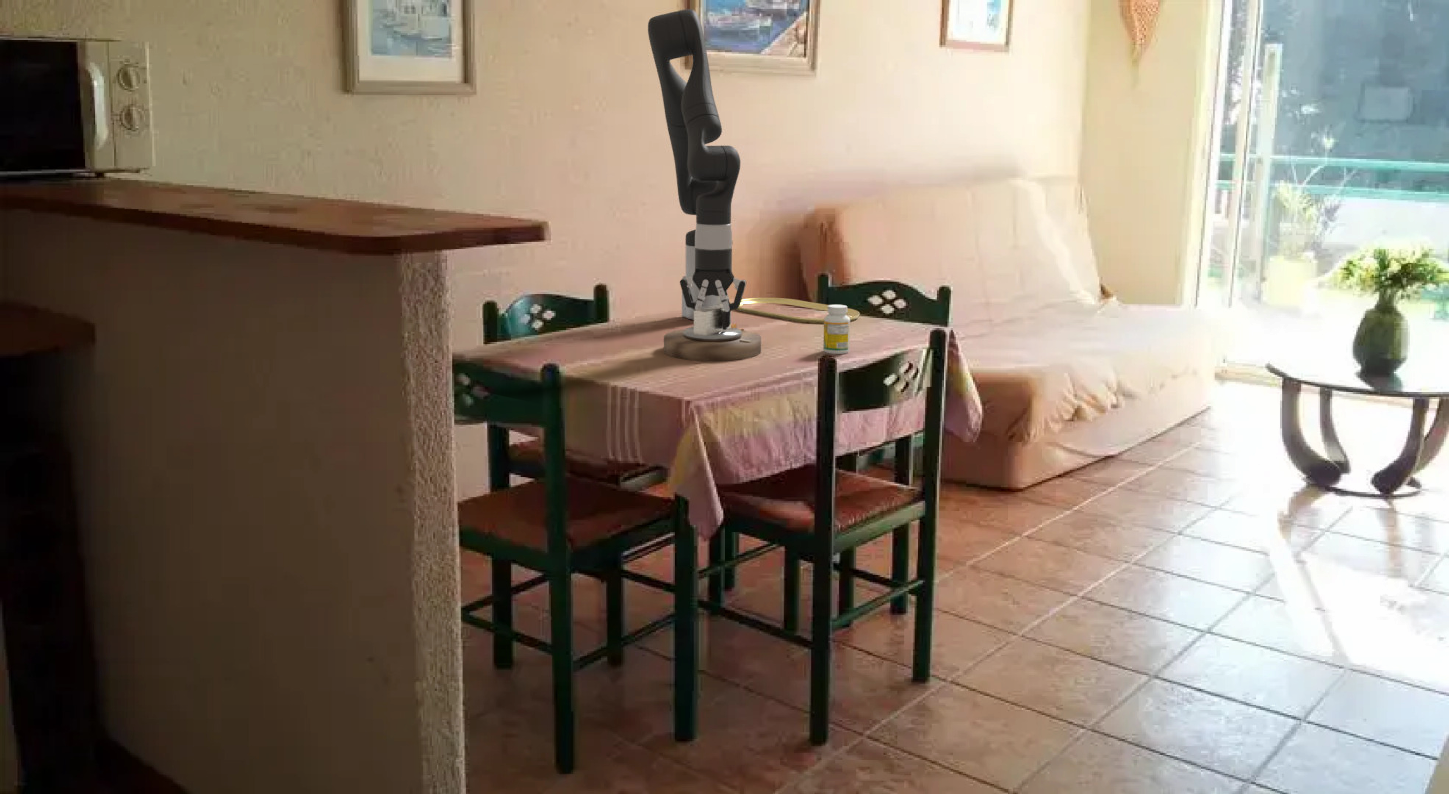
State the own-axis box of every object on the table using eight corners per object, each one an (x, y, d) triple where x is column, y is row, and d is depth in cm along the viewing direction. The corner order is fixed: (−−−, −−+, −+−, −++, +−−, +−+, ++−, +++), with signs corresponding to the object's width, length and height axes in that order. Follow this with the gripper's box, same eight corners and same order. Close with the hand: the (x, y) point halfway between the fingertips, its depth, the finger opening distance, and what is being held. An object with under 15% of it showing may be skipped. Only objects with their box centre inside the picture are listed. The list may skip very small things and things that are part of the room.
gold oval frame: (769, 301, 332) (769, 295, 331) (875, 319, 307) (875, 312, 307) (716, 309, 319) (717, 303, 318) (823, 328, 295) (823, 322, 294)
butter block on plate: (723, 343, 257) (723, 314, 256) (672, 337, 263) (672, 309, 262) (758, 332, 270) (758, 304, 268) (708, 326, 276) (708, 299, 274)
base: (644, 352, 264) (643, 336, 264) (704, 338, 280) (704, 323, 279) (720, 365, 252) (720, 348, 252) (779, 349, 268) (780, 334, 267)
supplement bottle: (844, 355, 263) (845, 308, 261) (819, 353, 265) (820, 306, 263) (852, 350, 268) (854, 305, 266) (828, 348, 270) (829, 303, 268)
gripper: (675, 247, 258) (675, 331, 262) (746, 248, 257) (745, 333, 261) (681, 242, 266) (681, 324, 270) (750, 244, 264) (749, 326, 268)
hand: (713, 328), depth 265 cm, fingers open, 4 cm apart
